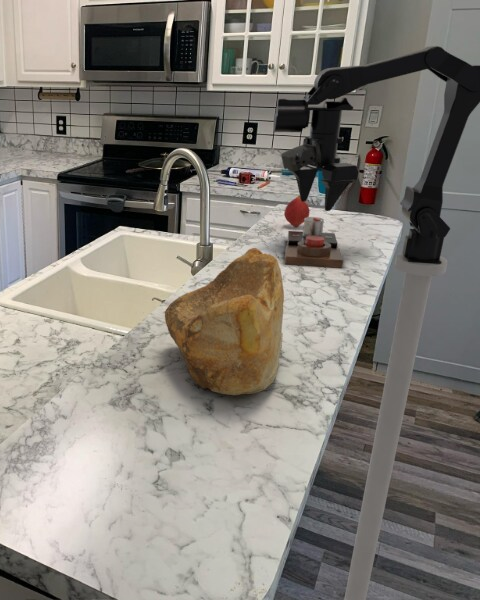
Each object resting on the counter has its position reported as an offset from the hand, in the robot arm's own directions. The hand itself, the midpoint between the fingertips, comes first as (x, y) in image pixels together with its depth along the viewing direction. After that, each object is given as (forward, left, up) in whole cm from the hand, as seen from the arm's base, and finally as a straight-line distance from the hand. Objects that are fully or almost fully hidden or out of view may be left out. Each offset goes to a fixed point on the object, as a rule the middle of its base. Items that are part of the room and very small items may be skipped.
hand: (315, 205), depth 133 cm
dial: (0, 0, -7) cm, 7 cm away
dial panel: (0, 0, -10) cm, 10 cm away
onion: (+3, -17, -10) cm, 20 cm away
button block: (0, +9, -10) cm, 13 cm away
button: (0, +9, -6) cm, 11 cm away
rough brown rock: (+15, +60, -10) cm, 62 cm away
